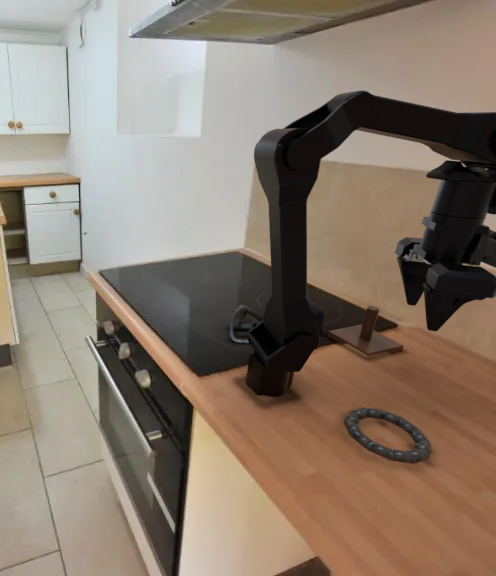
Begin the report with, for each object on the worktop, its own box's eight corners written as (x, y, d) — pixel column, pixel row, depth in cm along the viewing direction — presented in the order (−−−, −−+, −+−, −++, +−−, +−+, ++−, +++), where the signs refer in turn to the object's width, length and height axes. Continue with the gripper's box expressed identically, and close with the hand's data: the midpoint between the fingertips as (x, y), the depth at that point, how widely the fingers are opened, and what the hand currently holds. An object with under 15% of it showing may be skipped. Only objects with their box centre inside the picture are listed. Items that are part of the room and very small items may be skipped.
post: (366, 359, 70) (377, 321, 67) (327, 336, 78) (335, 302, 75) (402, 350, 72) (414, 314, 70) (360, 329, 80) (369, 296, 77)
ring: (391, 475, 46) (395, 466, 46) (327, 422, 55) (330, 413, 54) (446, 456, 49) (450, 446, 48) (377, 408, 57) (380, 400, 57)
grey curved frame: (283, 329, 81) (245, 288, 81) (295, 337, 74) (255, 291, 74) (248, 358, 82) (211, 317, 82) (257, 367, 75) (217, 323, 75)
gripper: (586, 236, 41) (525, 359, 47) (497, 207, 57) (460, 301, 63) (458, 226, 45) (416, 342, 50) (408, 202, 61) (381, 291, 67)
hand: (420, 316), depth 58 cm, fingers open, 9 cm apart
